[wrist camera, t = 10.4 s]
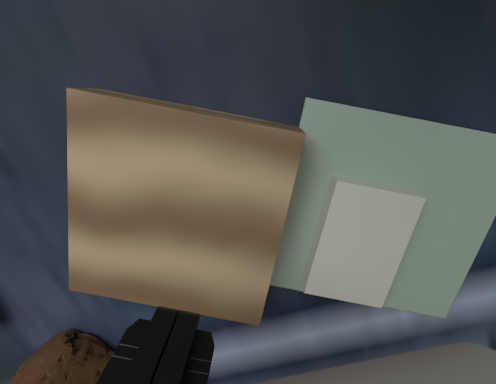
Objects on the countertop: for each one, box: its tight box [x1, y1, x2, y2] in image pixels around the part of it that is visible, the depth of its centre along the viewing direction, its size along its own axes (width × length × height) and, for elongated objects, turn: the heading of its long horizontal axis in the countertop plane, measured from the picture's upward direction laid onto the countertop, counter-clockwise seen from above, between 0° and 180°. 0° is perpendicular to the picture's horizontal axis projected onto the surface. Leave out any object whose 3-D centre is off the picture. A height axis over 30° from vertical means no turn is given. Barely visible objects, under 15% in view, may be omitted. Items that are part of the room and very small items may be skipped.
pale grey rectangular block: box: [301, 173, 426, 308], centre depth 22 cm, size 9×6×2 cm, turn 169°
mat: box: [270, 97, 496, 318], centre depth 23 cm, size 15×16×1 cm
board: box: [67, 88, 306, 326], centre depth 21 cm, size 14×14×4 cm
